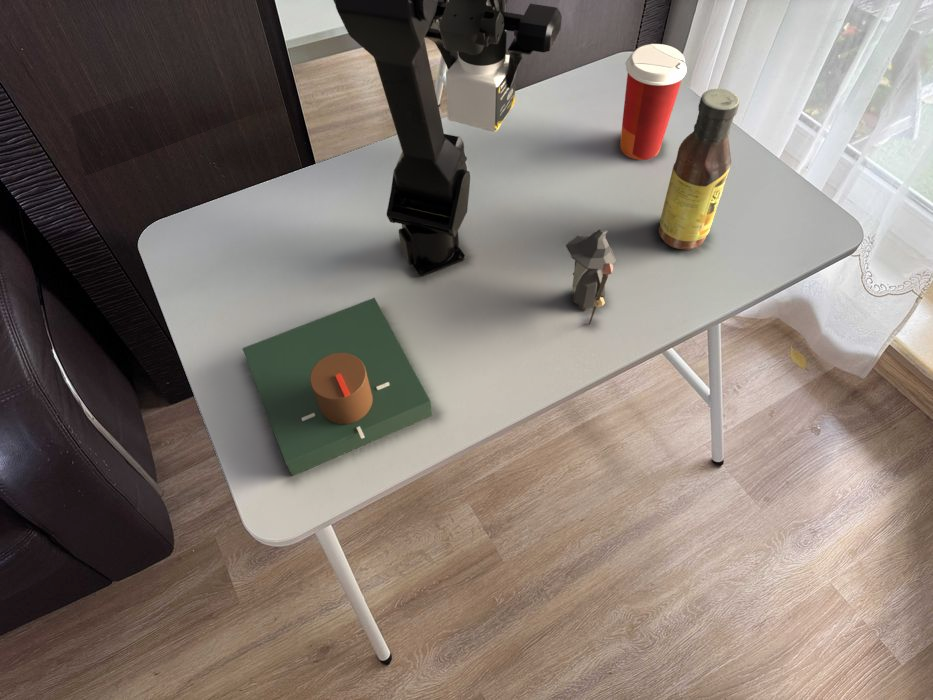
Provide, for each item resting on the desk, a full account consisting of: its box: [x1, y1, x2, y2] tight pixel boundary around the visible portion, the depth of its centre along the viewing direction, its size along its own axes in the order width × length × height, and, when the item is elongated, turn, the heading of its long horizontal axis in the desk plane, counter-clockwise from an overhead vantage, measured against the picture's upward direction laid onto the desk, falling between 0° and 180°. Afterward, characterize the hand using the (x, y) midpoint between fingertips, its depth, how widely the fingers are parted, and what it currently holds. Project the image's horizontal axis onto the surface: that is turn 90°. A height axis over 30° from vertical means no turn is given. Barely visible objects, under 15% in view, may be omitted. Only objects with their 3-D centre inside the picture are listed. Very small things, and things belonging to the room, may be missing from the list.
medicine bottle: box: [445, 30, 517, 133], centre depth 92 cm, size 7×7×12 cm
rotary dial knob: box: [310, 353, 373, 424], centre depth 73 cm, size 6×6×5 cm
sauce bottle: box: [658, 88, 740, 250], centre depth 84 cm, size 7×6×20 cm
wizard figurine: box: [565, 229, 617, 325], centre depth 81 cm, size 8×6×12 cm
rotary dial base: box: [242, 297, 433, 477], centre depth 78 cm, size 16×17×3 cm
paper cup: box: [620, 43, 688, 161], centre depth 97 cm, size 8×8×14 cm
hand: (481, 81), depth 93 cm, fingers closed on medicine bottle, 7 cm apart
